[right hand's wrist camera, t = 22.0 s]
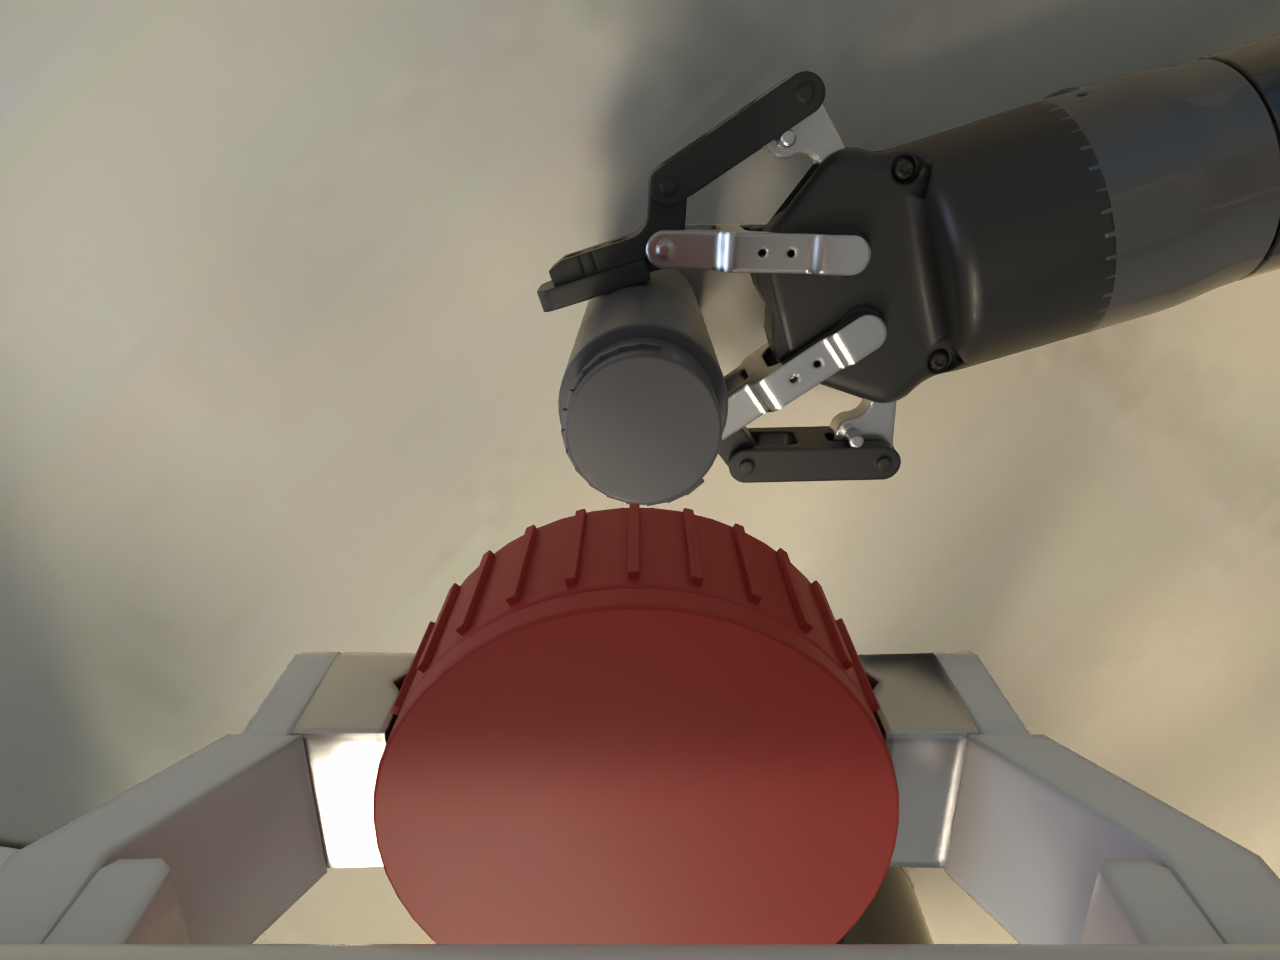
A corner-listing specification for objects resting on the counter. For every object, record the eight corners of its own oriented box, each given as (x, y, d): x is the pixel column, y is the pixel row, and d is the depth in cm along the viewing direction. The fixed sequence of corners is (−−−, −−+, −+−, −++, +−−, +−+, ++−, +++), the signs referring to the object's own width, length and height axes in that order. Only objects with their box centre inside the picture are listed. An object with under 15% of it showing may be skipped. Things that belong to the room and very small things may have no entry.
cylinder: (566, 306, 35) (512, 422, 20) (649, 232, 34) (654, 300, 19) (636, 386, 36) (633, 549, 22) (719, 318, 35) (773, 441, 20)
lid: (928, 578, 10) (1006, 694, 8) (757, 902, 12) (783, 1065, 10) (482, 438, 9) (437, 523, 7) (377, 805, 11) (317, 955, 9)
